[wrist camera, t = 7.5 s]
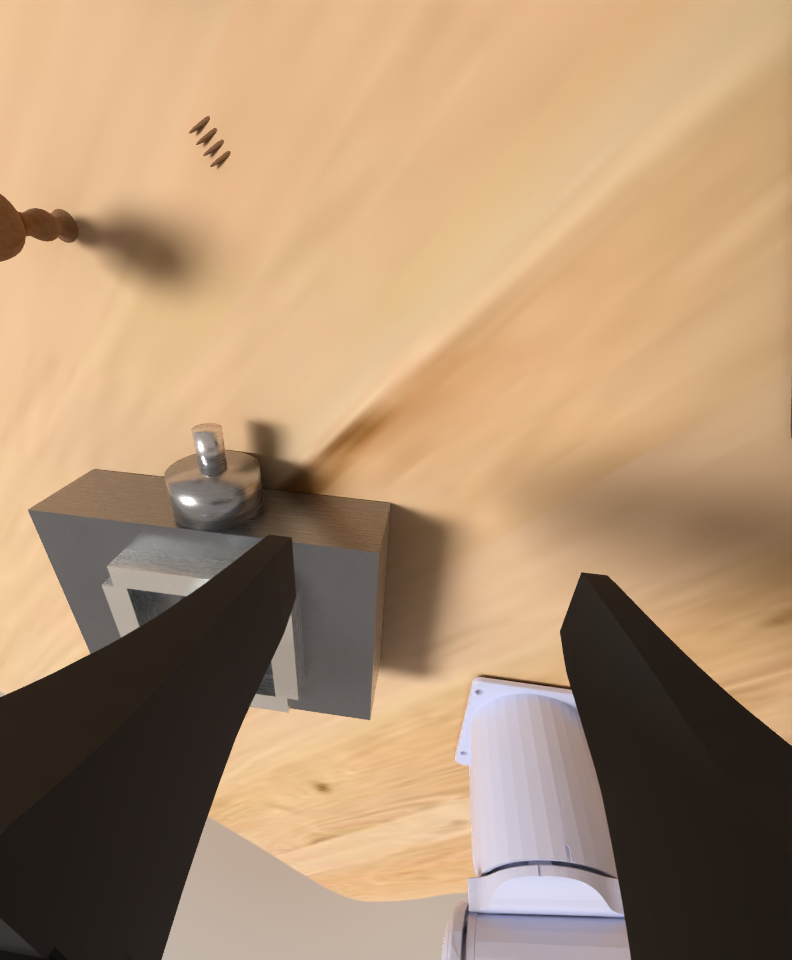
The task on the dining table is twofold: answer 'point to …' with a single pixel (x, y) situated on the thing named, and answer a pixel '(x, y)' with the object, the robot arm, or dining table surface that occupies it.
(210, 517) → the grey square pedestal
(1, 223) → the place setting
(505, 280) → the dining table surface
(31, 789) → the robot arm
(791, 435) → the dark grey slab
